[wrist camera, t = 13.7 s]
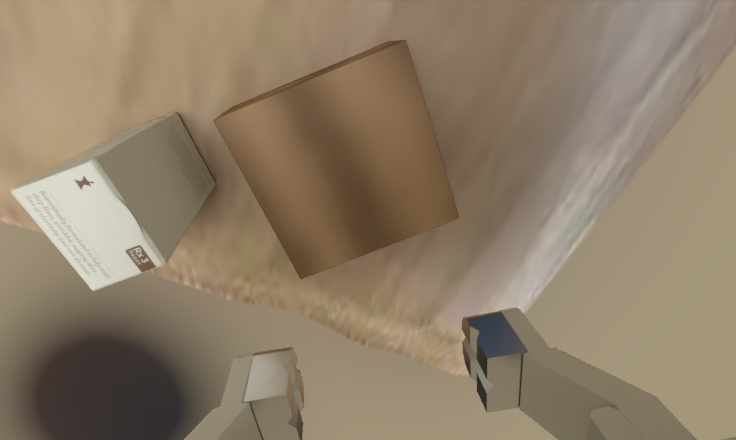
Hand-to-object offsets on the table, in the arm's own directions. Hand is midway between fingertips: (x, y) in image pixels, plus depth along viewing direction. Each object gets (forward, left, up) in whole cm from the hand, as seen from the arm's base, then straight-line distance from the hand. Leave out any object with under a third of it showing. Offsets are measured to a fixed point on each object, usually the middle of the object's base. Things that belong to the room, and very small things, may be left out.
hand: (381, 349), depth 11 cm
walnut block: (0, 0, -22) cm, 22 cm away
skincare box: (+12, -1, -22) cm, 25 cm away
